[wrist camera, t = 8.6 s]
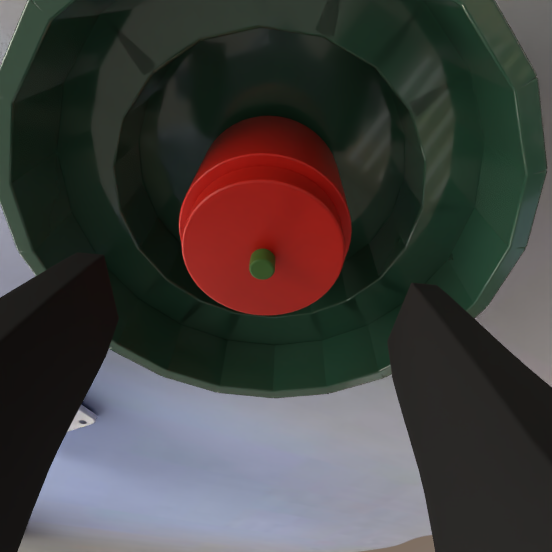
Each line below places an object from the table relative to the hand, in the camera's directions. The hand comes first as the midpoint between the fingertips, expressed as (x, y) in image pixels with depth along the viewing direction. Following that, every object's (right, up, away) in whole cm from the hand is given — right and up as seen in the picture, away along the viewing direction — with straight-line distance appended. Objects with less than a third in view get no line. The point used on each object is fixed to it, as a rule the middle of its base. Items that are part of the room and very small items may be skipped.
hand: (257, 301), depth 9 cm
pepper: (0, +4, +6) cm, 7 cm away
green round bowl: (0, +5, +6) cm, 8 cm away
